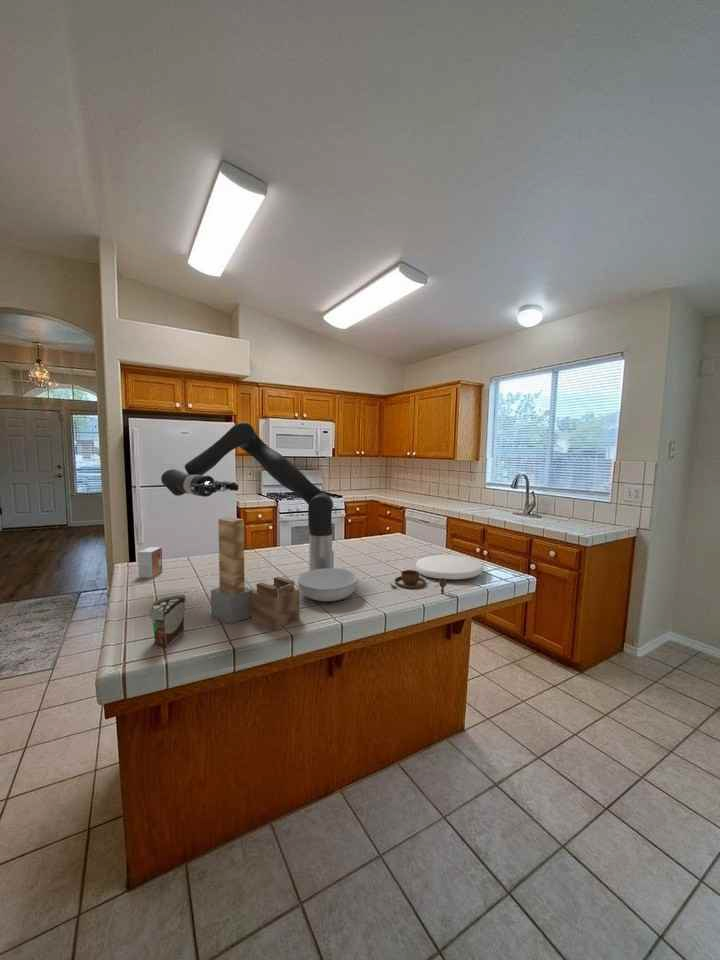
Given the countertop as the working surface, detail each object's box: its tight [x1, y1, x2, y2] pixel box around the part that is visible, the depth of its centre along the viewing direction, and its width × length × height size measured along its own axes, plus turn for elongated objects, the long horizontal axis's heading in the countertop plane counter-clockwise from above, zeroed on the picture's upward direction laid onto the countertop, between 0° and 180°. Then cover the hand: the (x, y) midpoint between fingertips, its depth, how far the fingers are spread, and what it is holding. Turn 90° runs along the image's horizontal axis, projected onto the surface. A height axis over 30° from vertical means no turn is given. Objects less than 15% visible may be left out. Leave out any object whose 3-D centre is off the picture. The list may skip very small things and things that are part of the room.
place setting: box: [388, 569, 447, 595], centre depth 146 cm, size 18×20×6 cm
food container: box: [148, 594, 187, 648], centre depth 104 cm, size 12×6×10 cm, turn 178°
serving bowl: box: [297, 568, 359, 602], centre depth 136 cm, size 21×21×7 cm
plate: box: [415, 554, 484, 580], centre depth 163 cm, size 28×6×27 cm
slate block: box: [210, 586, 254, 625], centre depth 119 cm, size 8×10×8 cm
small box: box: [137, 546, 163, 579], centre depth 156 cm, size 8×6×10 cm
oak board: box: [218, 516, 245, 594], centre depth 118 cm, size 4×7×22 cm, turn 53°
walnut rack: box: [251, 576, 300, 631], centre depth 116 cm, size 10×10×12 cm
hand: (226, 488), depth 129 cm, fingers open, 8 cm apart
